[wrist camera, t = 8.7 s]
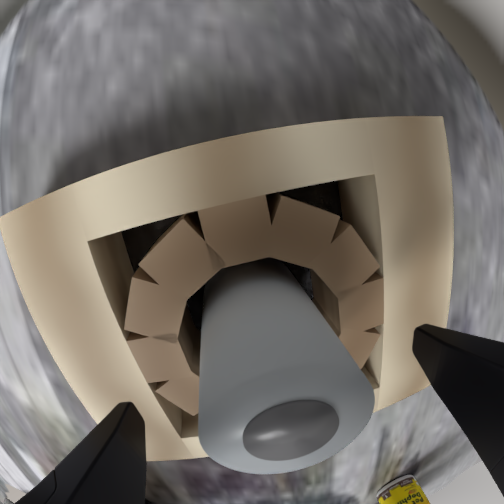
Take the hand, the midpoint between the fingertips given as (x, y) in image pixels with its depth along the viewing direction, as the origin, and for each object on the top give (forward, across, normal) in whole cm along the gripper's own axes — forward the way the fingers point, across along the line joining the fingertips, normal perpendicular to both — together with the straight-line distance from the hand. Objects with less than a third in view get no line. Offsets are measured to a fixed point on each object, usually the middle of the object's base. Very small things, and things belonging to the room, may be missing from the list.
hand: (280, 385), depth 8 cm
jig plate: (+6, 0, 0) cm, 6 cm away
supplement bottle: (+6, -12, +33) cm, 36 cm away
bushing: (+6, 0, 0) cm, 6 cm away
